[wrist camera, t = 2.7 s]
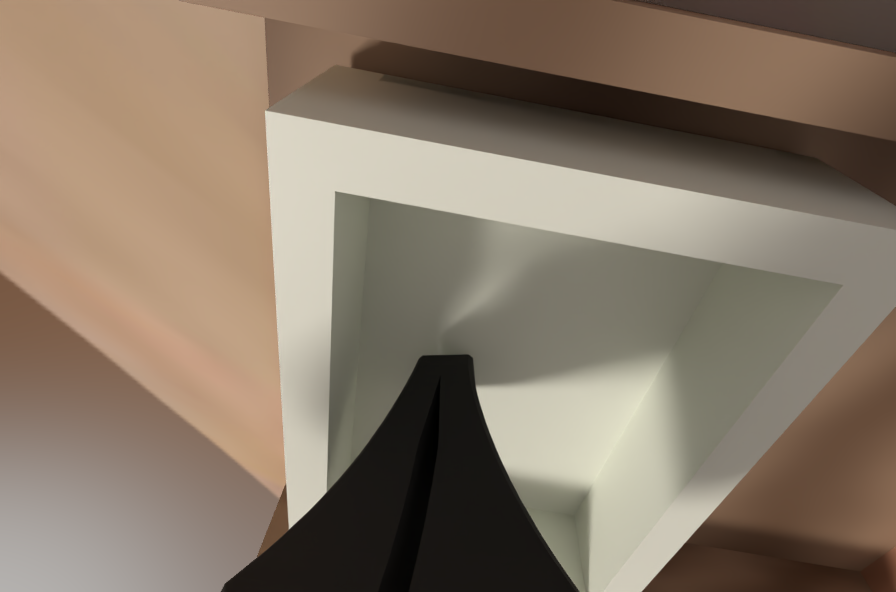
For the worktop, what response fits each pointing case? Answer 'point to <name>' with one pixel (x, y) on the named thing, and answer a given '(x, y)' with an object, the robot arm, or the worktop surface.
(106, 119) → the worktop surface
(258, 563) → the robot arm
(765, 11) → the worktop surface
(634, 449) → the crate
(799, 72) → the bay
